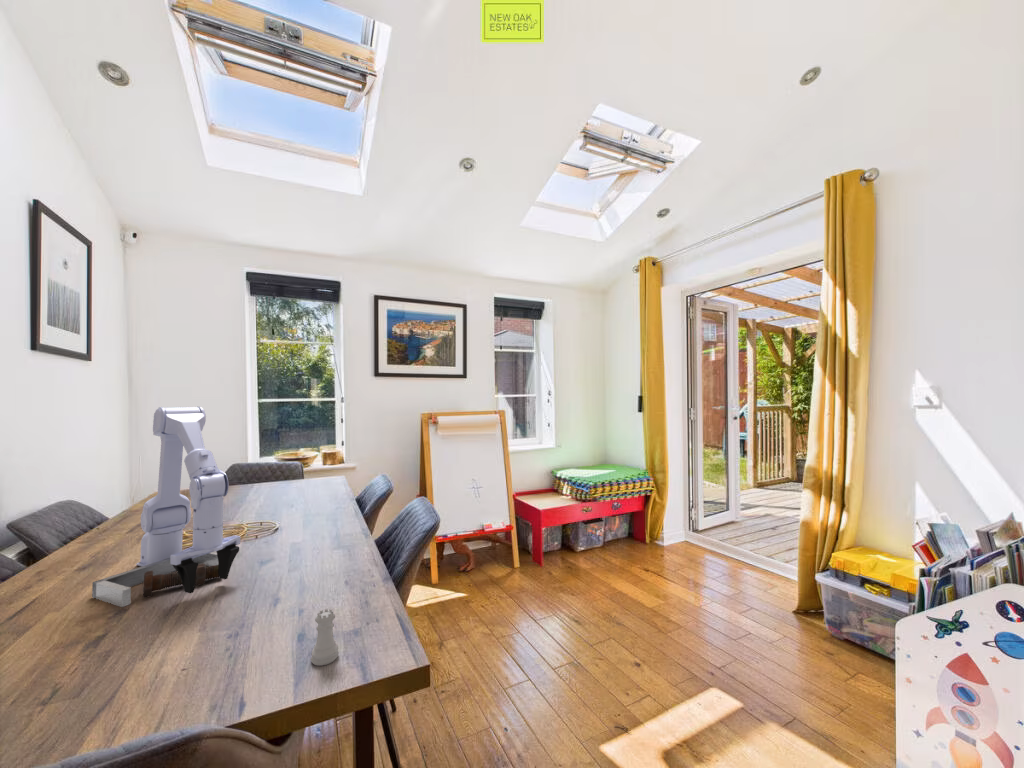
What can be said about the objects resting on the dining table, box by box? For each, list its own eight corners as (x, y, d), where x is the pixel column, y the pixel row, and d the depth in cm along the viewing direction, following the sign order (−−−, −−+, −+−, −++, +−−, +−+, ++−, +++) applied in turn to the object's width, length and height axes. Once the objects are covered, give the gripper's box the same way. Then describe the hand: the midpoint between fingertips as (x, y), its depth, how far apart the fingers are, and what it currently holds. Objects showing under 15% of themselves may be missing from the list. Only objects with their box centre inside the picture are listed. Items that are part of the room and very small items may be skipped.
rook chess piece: (316, 651, 76) (316, 606, 76) (342, 650, 76) (342, 605, 76) (306, 667, 71) (307, 619, 71) (333, 666, 72) (334, 618, 72)
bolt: (221, 586, 106) (142, 603, 96) (220, 570, 109) (143, 585, 100) (224, 569, 104) (143, 585, 94) (223, 554, 107) (144, 567, 98)
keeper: (92, 597, 96) (92, 582, 96) (199, 561, 117) (199, 548, 117) (122, 607, 91) (122, 590, 92) (227, 567, 113) (228, 554, 113)
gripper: (185, 537, 91) (184, 602, 90) (249, 519, 104) (248, 575, 104) (164, 533, 93) (163, 596, 93) (229, 516, 107) (228, 571, 107)
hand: (206, 585), depth 99 cm, fingers open, 7 cm apart
